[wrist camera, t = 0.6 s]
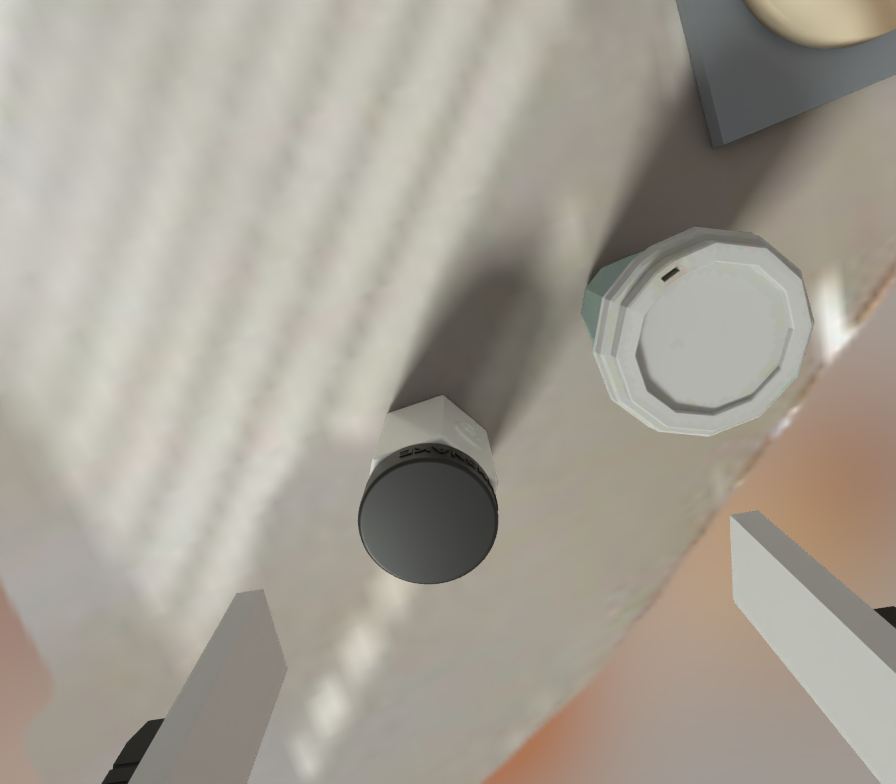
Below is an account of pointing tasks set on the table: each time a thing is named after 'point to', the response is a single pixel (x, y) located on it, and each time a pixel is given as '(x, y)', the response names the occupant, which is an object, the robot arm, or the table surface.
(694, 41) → the tuner base
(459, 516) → the jar
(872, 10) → the dial
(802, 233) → the table surface
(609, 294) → the disposable coffee cup
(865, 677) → the robot arm
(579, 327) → the table surface
